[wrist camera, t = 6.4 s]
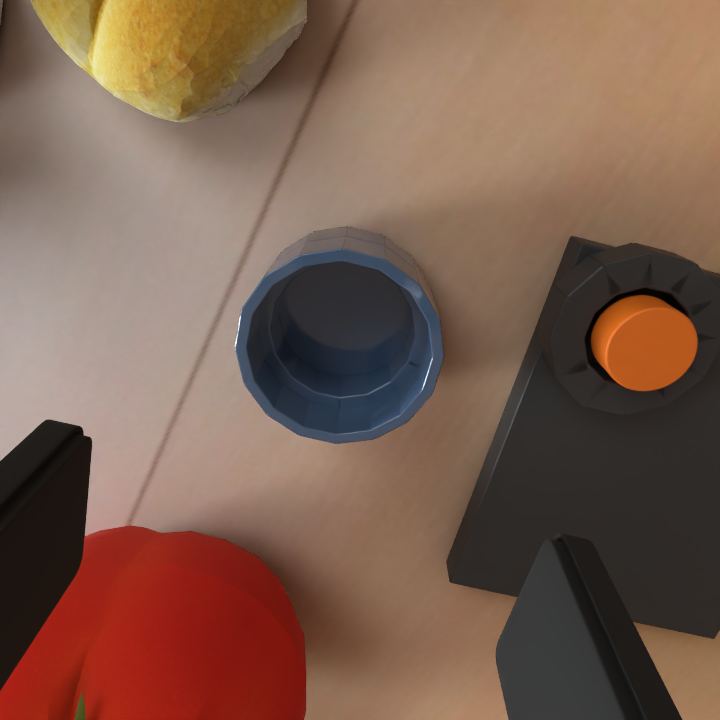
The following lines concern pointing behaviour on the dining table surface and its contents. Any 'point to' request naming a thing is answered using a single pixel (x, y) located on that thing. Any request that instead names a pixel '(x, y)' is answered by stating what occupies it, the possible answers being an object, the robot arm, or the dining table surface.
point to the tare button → (644, 342)
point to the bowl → (341, 337)
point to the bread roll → (175, 48)
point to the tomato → (164, 637)
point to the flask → (0, 9)
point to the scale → (608, 449)
